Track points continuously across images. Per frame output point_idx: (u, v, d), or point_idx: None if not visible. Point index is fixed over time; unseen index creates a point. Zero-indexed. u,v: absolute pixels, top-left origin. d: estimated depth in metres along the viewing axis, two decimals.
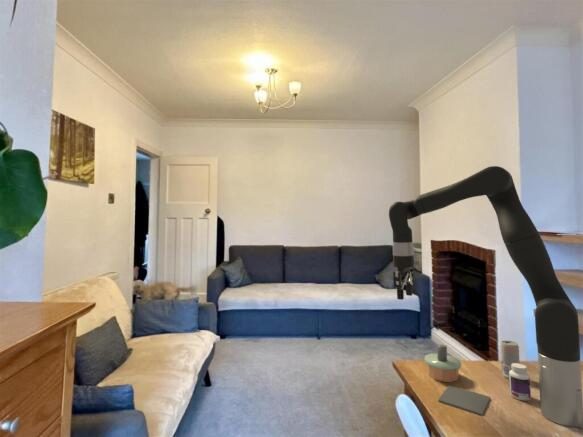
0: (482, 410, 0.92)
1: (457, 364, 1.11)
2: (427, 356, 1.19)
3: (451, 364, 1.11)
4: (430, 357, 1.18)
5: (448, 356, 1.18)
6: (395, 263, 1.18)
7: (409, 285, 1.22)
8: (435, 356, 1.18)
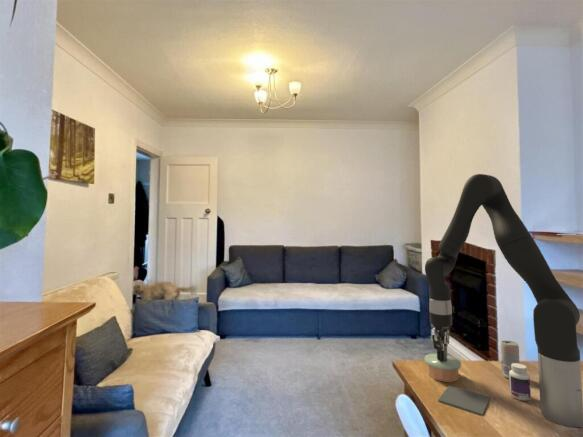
0: (482, 410, 0.92)
1: (457, 364, 1.11)
2: (427, 356, 1.19)
3: (451, 364, 1.11)
4: (430, 357, 1.18)
5: (448, 356, 1.18)
6: (432, 321, 1.14)
7: None
8: (435, 356, 1.18)
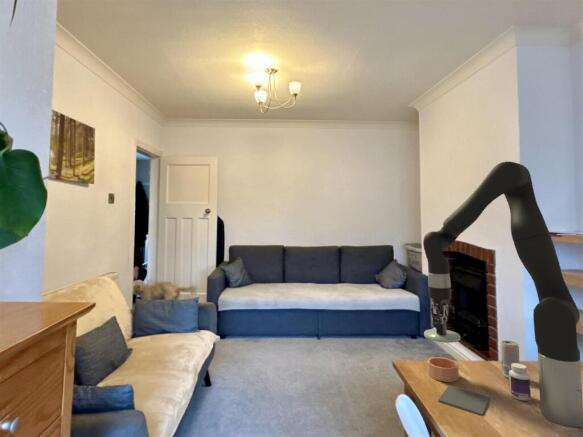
0: (482, 410, 0.92)
1: (456, 337, 1.11)
2: (426, 331, 1.19)
3: (450, 337, 1.11)
4: (430, 331, 1.18)
5: (447, 331, 1.18)
6: (431, 295, 1.15)
7: None
8: (435, 331, 1.19)
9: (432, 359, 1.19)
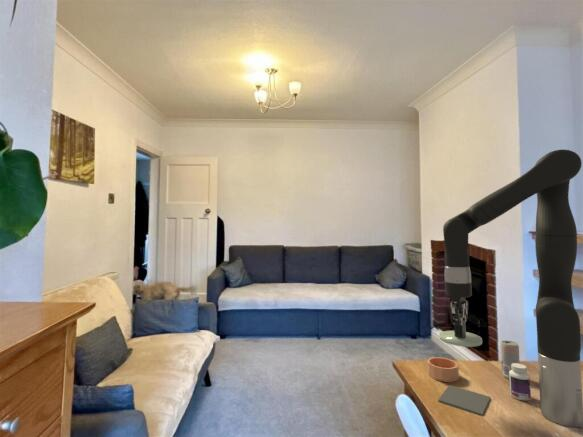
0: (482, 410, 0.92)
1: (478, 340, 0.96)
2: (442, 333, 1.03)
3: (471, 340, 0.96)
4: (446, 333, 1.03)
5: (466, 333, 1.03)
6: (449, 291, 0.99)
7: None
8: (452, 333, 1.03)
9: (432, 359, 1.19)
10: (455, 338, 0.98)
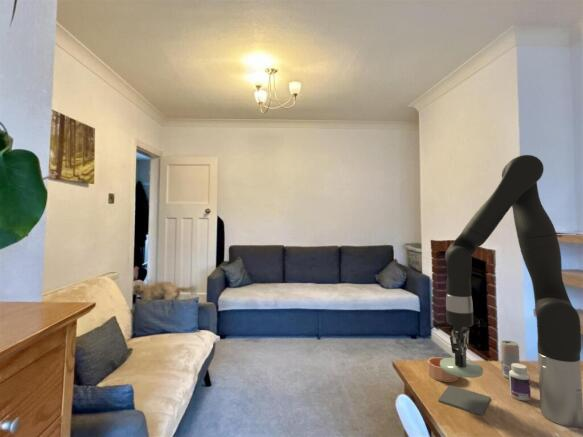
0: (482, 410, 0.92)
1: (479, 371, 0.95)
2: (443, 361, 1.03)
3: (472, 370, 0.95)
4: (446, 361, 1.02)
5: (467, 361, 1.02)
6: (450, 320, 0.99)
7: None
8: (452, 361, 1.03)
9: (432, 359, 1.19)
10: (456, 367, 0.98)
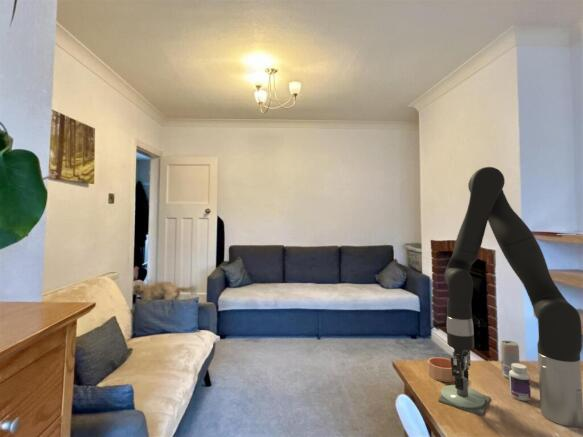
0: (482, 410, 0.92)
1: (480, 401, 0.95)
2: (444, 389, 1.02)
3: (473, 401, 0.95)
4: (448, 390, 1.02)
5: (468, 389, 1.02)
6: (451, 343, 0.98)
7: (465, 370, 1.01)
8: (454, 389, 1.02)
9: (432, 359, 1.19)
10: (457, 397, 0.97)
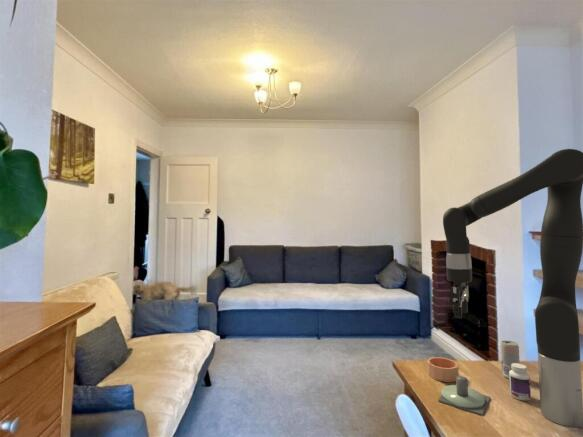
0: (482, 410, 0.92)
1: (480, 401, 0.95)
2: (444, 389, 1.02)
3: (473, 401, 0.95)
4: (448, 390, 1.02)
5: (468, 389, 1.02)
6: (450, 277, 1.04)
7: (464, 301, 1.08)
8: (454, 389, 1.02)
9: (432, 359, 1.19)
10: (457, 397, 0.97)
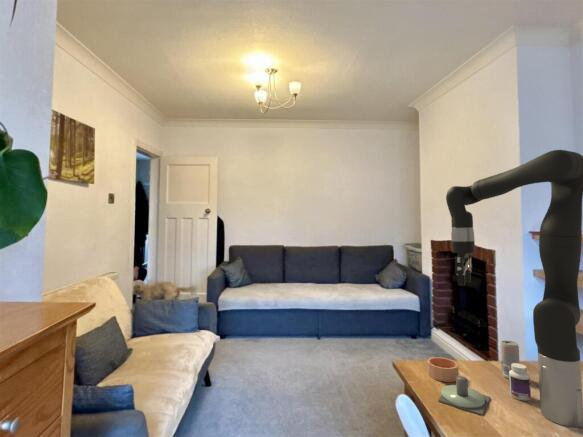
0: (482, 410, 0.92)
1: (480, 401, 0.95)
2: (444, 389, 1.02)
3: (473, 401, 0.95)
4: (448, 390, 1.02)
5: (468, 389, 1.02)
6: (455, 249, 1.15)
7: (467, 272, 1.19)
8: (454, 389, 1.02)
9: (432, 359, 1.19)
10: (457, 397, 0.97)
